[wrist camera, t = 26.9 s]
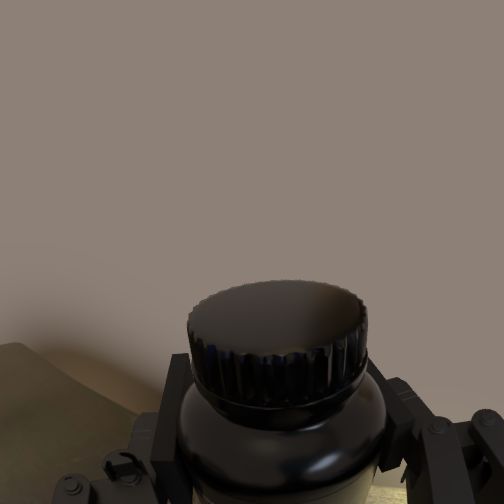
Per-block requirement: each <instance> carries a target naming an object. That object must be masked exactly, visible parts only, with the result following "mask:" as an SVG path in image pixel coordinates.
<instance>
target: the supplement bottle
mask: <svg viewBox="0 0 504 504" xmlns="http://www.w3.org/2000/svg"><path fill="white" fill-rule="evenodd" d="M367 331H368V317H367V307H366V306H365V305H364V304H363V300H361V299H359V298H357V295H356V294H353V293H351V292H350V291H349V290H347V289H343V288H340V287H339V286H336V285H330V284H327V283H322V282H315V281H304V280H271V281H264V282H256V283H250V284H244V285H241V286H236V287H231V288H229V289H227V290H222V291H220V292H218V293H216V294H213V295H210V296H209V297H208V298H206V299H204V300H202V301H200V303H199V304H198V305H196V306H195V307H193V311H192V312H191V313H189V319H188V321H187V332H188V338H189V343H190V348H191V354H192V363H191V366H192V372H193V377H194V382H193V383H192V384H191V385H190V387H189V388H188V390H187V391H186V393H185V395H184V397H183V399H182V401H181V403H180V406H179V409H178V413H177V417H176V435H177V440H178V444H179V448H180V451H181V454H182V457H183V460H184V463H185V465H186V468H187V471H188V473H189V476H190V479H191V481H192V484H193V486H194V489H195V491H196V494H197V496H198V498H199V501H200V503H201V504H365V502H366V499H367V496H368V493H369V491H370V488H371V485H372V481H373V478H374V476H375V473H376V470H377V466H378V463H379V460H380V456H381V453H382V450H383V446H384V442H385V438H386V432H387V426H388V411H387V405H386V402H385V398H384V396H383V394H382V392H381V390H380V388H379V386H378V385H377V383H376V382H375V380H374V379H373V378H372V377H371V375H370V374H369V373H368V372H367V371H366V368H367V361H368V351H367V348H366V342H367Z"/></svg>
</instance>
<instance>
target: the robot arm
mask: <svg viewBox="0 0 504 504" xmlns="http://www.w3.org/2000/svg"><path fill="white" fill-rule="evenodd" d="M366 371H367V372H368V373H369V374H370V375H371V377H372V378H373V379H374V380H375V382H376V383H377V385H378V386H379V388H380V390H381V392H382V394H383V396H384V398H385V402H386V405H387V411H388V426H387V432H386V438H385V442H384V446H383V450H382V453H381V456H380V460H379V463H378V466H379V468H380V470H381V472H382V473H383V472H385V471H388V470H391V469H394V468H397V467H399V466H400V464H401V461H402V459H403V458H404V460H405V461H406V463H407V466H406V469H405V471H404V473H403V476H402V478H401V483H403V482H404V480H405V478H406V489H407V504H504V420H503V418H502V417H501V416H500V415H499V414H498V413H497V412H496V411H493V410H491V409H482V410H479V411H477V412H476V413H475V414H474V415H473V417H472V419H471V421H467V422H460V423H452V422H451V421H450V420H448V419H447V418H444V417H440V416H435V415H434V414H432V412H431V411H430V409H429V408H428V407H427V406H426V405H425V404H424V402H423V401H422V400H421V399H420V398H419V397H418V396H417V394H416V393H415V392H414V391H413V390H412V388H411V387H410V386H409V385H408V384H407V382H405V381H403V380H401V379H400V378H398V377H396V378H392V379H388V380H386V379H385V378H384V377H383V375H382V374H381V372H380V371H379V370H378V369H377V367H376V366H375V365H374V364H373V362H372V361H371V360H370V359H369V357H368V361H367V368H366ZM193 382H194V379H193V374H192V369H191V364H190V359H189V354H188V353H183V354H172V358H171V362H170V366H169V371H168V375H167V379H166V384H165V388H164V393H163V397H162V402H161V406H160V411H159V413H142V414H141V415H140V416H139V417H138V418H137V419H136V421H135V423H134V427H133V432H132V434H131V439H130V441H129V445H128V448H127V449H124V450H117V451H114V452H111V453H110V454H109V455H107V456H106V457H105V459H104V460H103V464H102V468H103V469H104V471H105V473H106V474H107V476H108V477H109V478H108V479H103V480H96V481H88V479H87V478H86V477H84V476H83V475H80V474H68V475H66V476H63V477H62V478H61V479H60V480H59V481H58V483H57V485H56V488H55V492H54V496H53V500H52V504H167V501H168V499H169V500H170V502H171V504H192V497H193V484H192V481H191V479H190V476H189V473H188V471H187V468H186V465H185V463H184V460H183V457H182V454H181V451H180V448H179V444H178V440H177V435H176V417H177V413H178V409H179V406H180V403H181V401H182V399H183V397H184V395H185V393H186V391H187V390H188V388H189V387H190V385H191V384H192V383H193Z"/></svg>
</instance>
